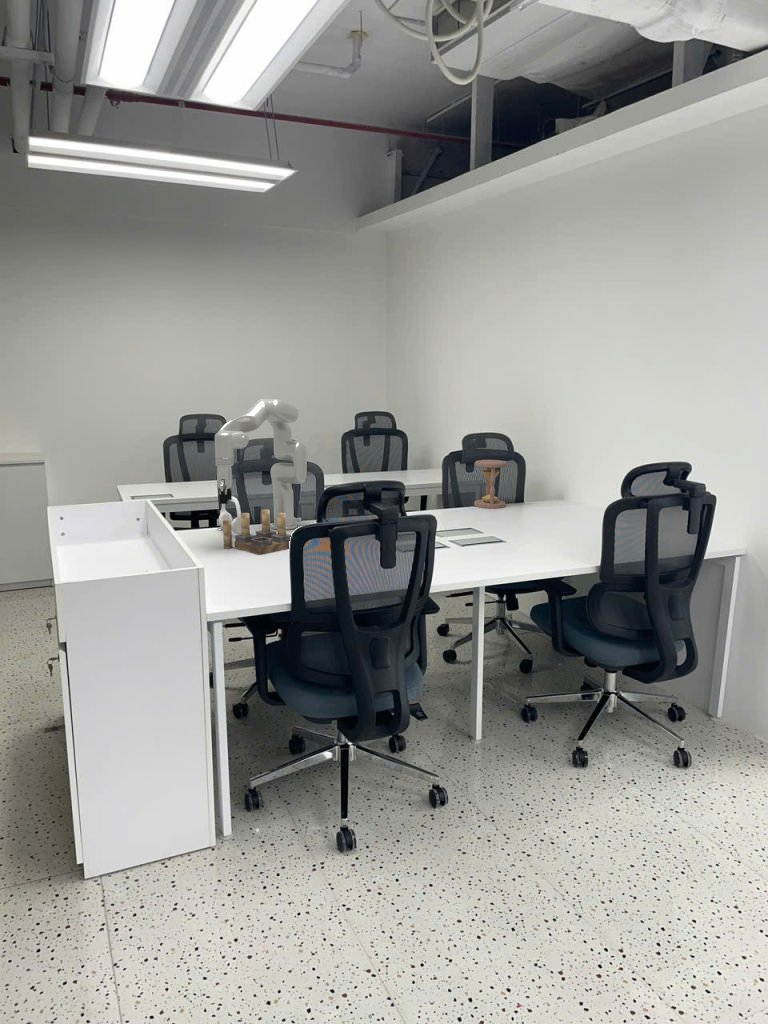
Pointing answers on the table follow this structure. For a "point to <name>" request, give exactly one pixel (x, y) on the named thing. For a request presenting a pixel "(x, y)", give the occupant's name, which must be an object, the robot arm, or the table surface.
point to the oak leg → (227, 534)
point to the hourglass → (490, 484)
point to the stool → (263, 535)
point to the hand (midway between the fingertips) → (225, 501)
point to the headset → (226, 516)
